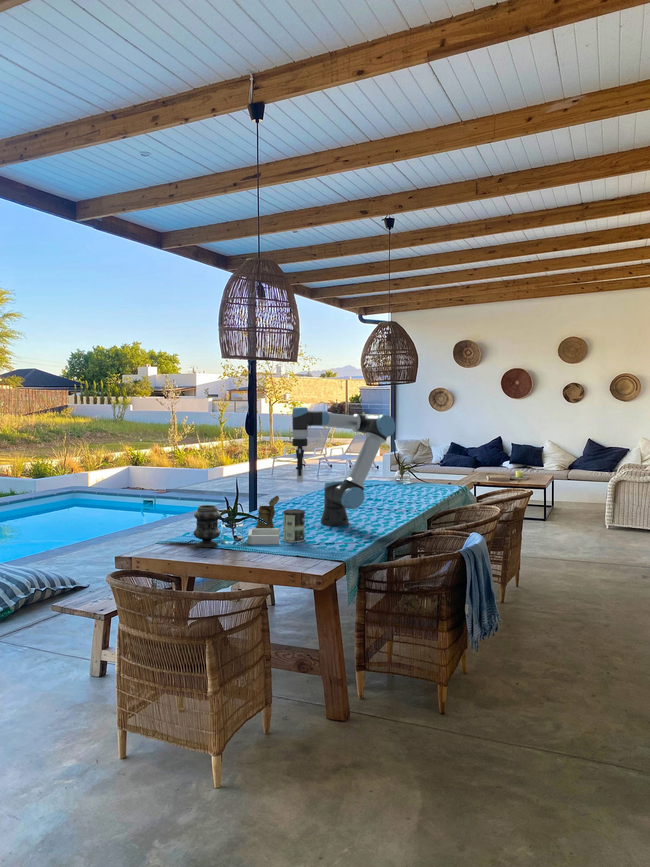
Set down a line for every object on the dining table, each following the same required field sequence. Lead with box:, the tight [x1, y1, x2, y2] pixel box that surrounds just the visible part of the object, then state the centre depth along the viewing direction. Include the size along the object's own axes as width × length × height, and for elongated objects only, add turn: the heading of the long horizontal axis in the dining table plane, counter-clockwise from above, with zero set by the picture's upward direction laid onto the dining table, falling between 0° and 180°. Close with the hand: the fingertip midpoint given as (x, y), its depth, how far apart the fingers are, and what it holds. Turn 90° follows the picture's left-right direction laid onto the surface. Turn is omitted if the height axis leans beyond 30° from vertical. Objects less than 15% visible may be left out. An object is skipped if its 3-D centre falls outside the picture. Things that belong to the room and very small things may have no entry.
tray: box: [247, 527, 280, 545], centre depth 295 cm, size 14×16×4 cm
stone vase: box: [193, 504, 221, 548], centre depth 283 cm, size 12×12×18 cm
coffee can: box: [282, 508, 306, 544], centre depth 295 cm, size 10×10×14 cm
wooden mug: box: [255, 495, 280, 529], centre depth 321 cm, size 9×14×18 cm, turn 50°
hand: (299, 480), depth 310 cm, fingers open, 13 cm apart
